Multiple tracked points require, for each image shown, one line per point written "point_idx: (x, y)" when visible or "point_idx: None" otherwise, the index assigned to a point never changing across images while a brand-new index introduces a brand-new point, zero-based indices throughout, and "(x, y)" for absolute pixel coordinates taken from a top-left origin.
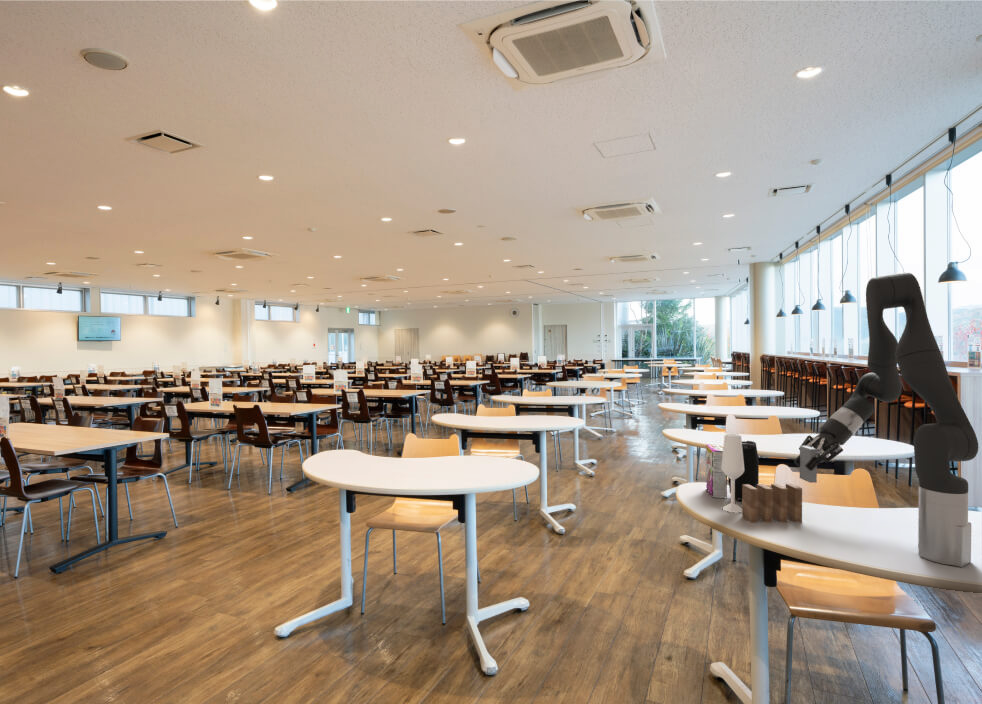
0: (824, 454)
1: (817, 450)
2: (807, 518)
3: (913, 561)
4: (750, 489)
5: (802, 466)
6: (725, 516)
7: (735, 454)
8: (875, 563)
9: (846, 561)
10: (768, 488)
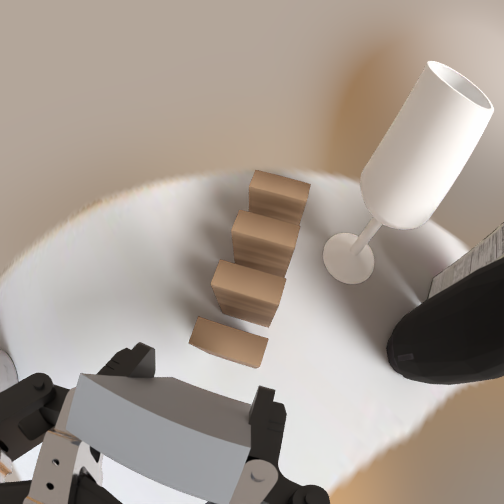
0: (22, 384)
1: (77, 439)
2: (223, 391)
3: (9, 326)
4: (258, 171)
5: (222, 405)
6: (307, 206)
7: (390, 127)
8: (31, 264)
9: (54, 231)
10: (238, 220)
